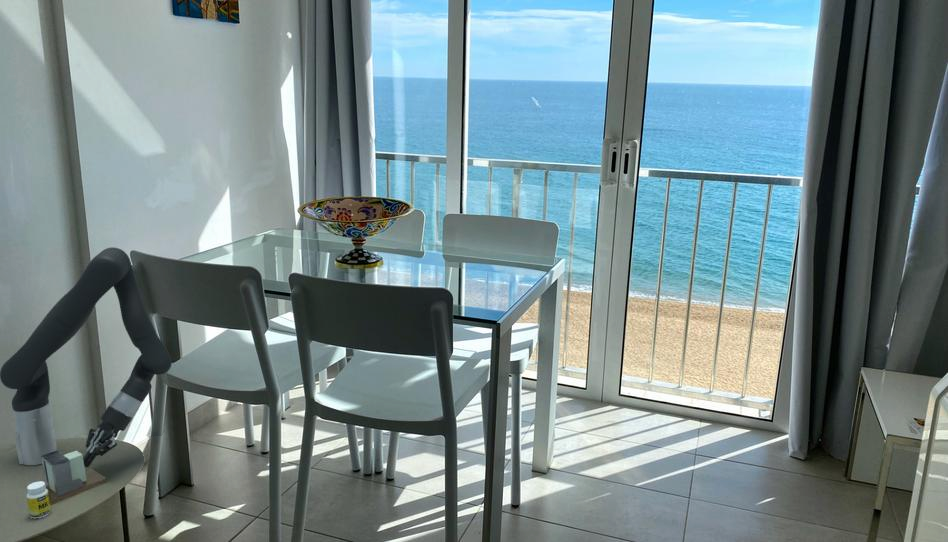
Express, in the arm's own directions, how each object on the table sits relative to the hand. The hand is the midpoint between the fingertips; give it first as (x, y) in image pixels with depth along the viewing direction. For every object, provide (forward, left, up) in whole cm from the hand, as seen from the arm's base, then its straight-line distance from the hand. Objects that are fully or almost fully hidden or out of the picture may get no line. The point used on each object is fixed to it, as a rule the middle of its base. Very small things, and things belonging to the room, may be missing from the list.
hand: (83, 465), depth 198 cm
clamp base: (-3, -3, -5) cm, 7 cm away
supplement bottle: (-6, -15, -5) cm, 17 cm away
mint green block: (-3, -3, -4) cm, 6 cm away
